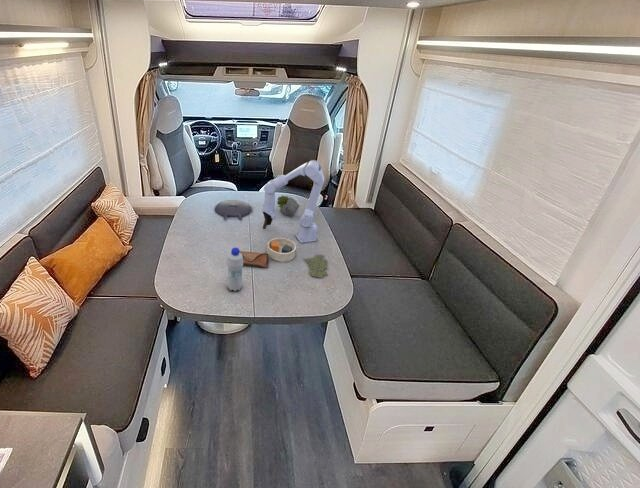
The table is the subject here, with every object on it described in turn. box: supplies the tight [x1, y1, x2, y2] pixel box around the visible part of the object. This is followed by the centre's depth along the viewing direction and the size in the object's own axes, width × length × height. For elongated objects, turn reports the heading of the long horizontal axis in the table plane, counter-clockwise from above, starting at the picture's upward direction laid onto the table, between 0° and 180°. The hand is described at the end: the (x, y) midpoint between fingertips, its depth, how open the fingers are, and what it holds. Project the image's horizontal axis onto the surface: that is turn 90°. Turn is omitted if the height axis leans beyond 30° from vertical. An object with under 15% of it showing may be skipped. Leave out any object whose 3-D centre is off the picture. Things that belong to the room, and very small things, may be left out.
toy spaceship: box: [214, 199, 253, 221], centre depth 200 cm, size 28×24×3 cm
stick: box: [262, 218, 268, 230], centre depth 177 cm, size 2×2×9 cm
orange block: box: [271, 242, 279, 252], centre depth 160 cm, size 4×4×4 cm
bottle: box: [226, 247, 243, 292], centre depth 131 cm, size 7×7×20 cm
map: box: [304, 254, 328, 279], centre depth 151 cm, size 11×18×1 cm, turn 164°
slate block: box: [282, 245, 292, 253], centre depth 157 cm, size 4×4×4 cm
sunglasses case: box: [240, 250, 269, 269], centre depth 151 cm, size 18×7×7 cm
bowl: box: [266, 237, 297, 263], centre depth 158 cm, size 14×14×5 cm
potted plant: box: [276, 194, 300, 217], centre depth 198 cm, size 12×13×15 cm
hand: (267, 223), depth 178 cm, fingers closed on stick, 2 cm apart
